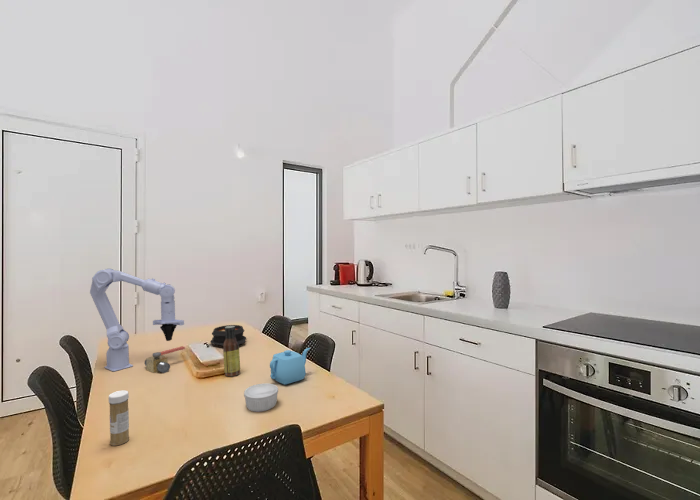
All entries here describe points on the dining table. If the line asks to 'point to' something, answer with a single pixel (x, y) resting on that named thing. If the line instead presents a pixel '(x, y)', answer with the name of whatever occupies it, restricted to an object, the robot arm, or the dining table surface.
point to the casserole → (220, 335)
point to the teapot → (288, 366)
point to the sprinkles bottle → (119, 417)
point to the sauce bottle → (231, 353)
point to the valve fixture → (157, 364)
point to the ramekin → (261, 397)
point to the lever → (167, 351)
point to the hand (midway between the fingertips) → (169, 340)
